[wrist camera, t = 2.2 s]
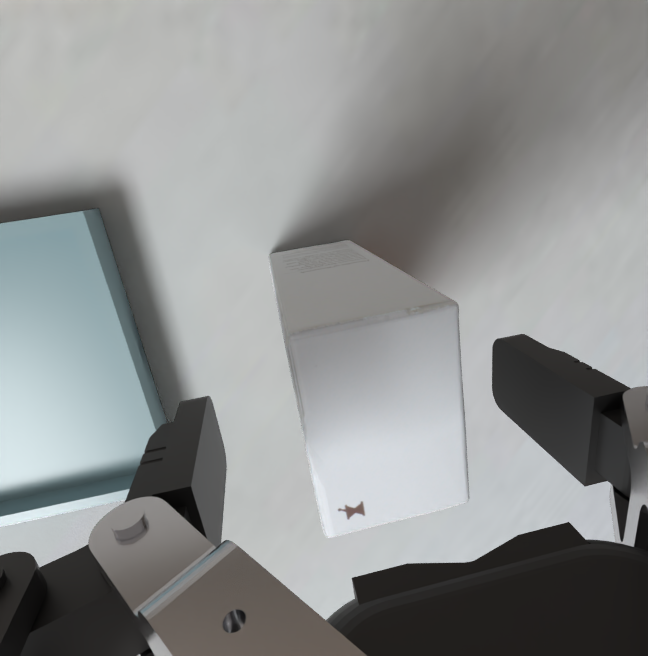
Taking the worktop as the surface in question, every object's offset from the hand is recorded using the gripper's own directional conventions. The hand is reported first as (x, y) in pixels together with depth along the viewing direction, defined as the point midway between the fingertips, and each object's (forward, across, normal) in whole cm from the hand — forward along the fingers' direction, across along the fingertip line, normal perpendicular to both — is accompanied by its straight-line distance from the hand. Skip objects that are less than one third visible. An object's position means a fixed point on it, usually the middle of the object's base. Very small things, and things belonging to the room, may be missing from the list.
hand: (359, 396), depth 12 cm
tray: (+11, +16, +1) cm, 19 cm away
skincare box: (+10, 0, 0) cm, 11 cm away
